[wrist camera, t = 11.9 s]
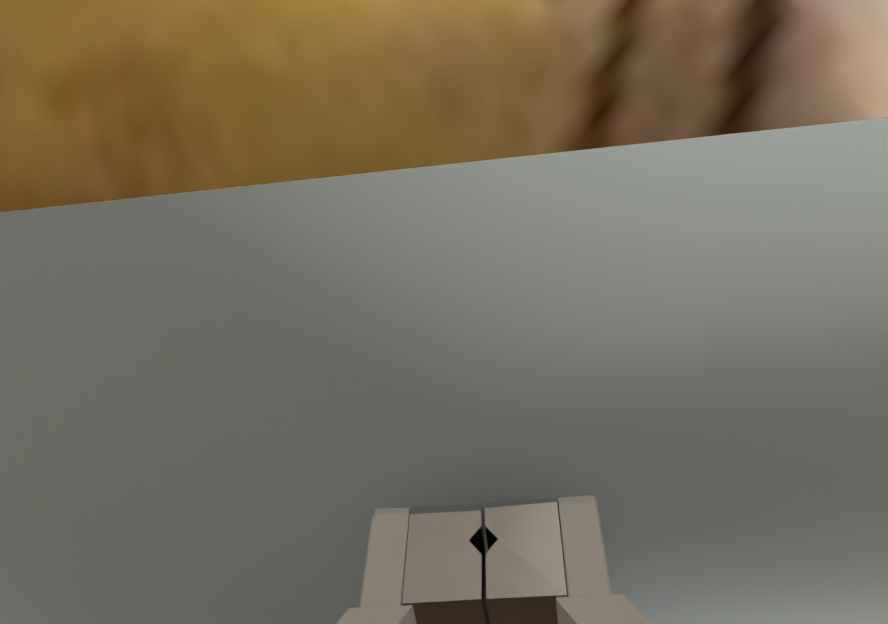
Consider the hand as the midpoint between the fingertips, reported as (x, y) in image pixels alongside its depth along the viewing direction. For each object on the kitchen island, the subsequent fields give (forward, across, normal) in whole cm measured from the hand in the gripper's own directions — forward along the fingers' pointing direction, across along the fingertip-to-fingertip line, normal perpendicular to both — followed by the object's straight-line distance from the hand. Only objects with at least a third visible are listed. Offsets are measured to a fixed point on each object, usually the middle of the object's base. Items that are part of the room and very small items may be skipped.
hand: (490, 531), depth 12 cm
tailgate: (-2, 0, +5) cm, 6 cm away
